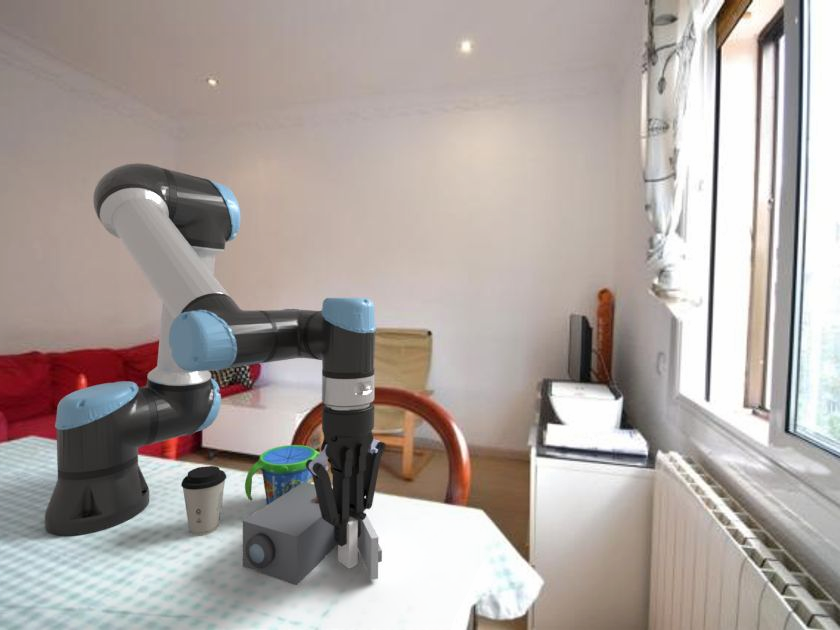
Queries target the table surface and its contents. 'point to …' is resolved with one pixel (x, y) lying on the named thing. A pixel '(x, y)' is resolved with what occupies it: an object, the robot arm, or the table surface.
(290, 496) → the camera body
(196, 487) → the coffee cup
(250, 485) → the snack cup
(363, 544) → the door
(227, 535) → the table surface
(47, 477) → the table surface
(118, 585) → the table surface
